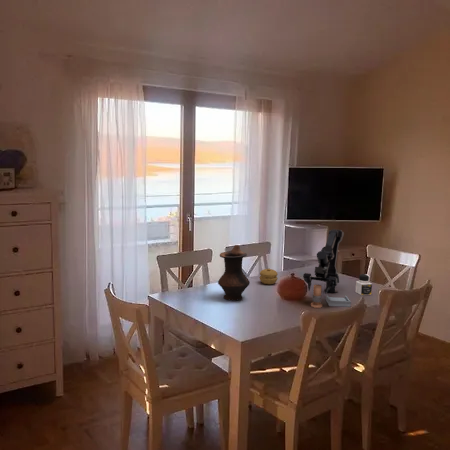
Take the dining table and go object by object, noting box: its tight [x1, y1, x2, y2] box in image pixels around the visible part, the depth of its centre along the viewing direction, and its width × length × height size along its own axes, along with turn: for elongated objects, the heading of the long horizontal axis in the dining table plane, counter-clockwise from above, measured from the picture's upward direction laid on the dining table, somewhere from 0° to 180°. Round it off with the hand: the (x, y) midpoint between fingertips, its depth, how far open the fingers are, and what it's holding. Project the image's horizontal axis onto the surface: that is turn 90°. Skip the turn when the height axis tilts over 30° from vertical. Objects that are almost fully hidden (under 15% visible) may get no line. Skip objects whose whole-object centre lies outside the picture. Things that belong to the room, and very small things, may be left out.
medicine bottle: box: [355, 273, 373, 296], centre depth 309 cm, size 7×7×12 cm
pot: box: [258, 268, 279, 285], centre depth 326 cm, size 12×12×10 cm
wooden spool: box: [310, 283, 323, 309], centre depth 281 cm, size 6×6×12 cm
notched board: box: [325, 294, 352, 308], centre depth 288 cm, size 12×12×3 cm
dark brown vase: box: [217, 244, 251, 301], centre depth 291 cm, size 21×18×30 cm
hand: (316, 292), depth 280 cm, fingers open, 9 cm apart
